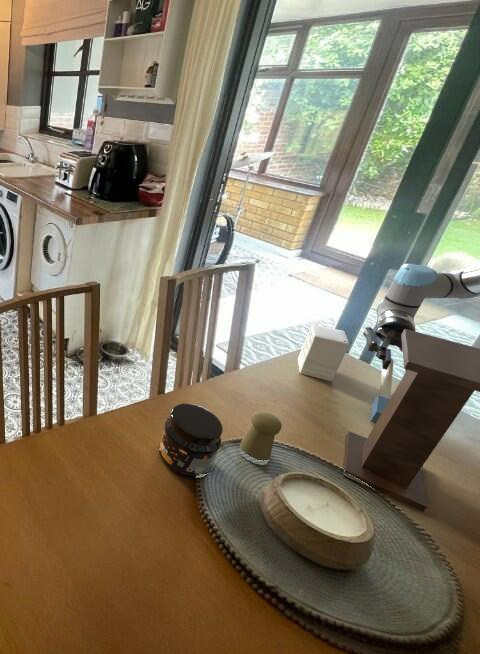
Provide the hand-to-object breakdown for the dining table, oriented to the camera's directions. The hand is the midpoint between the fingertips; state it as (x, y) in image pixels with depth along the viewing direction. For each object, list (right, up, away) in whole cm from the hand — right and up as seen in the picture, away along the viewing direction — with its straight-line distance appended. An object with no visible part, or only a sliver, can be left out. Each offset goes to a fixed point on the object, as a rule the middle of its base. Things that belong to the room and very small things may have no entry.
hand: (398, 368), depth 100 cm
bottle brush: (+1, -7, +4) cm, 8 cm away
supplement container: (-59, -18, -11) cm, 62 cm away
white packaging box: (-8, -4, +15) cm, 18 cm away
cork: (-43, -17, -10) cm, 47 cm away
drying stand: (-18, -18, -14) cm, 29 cm away
